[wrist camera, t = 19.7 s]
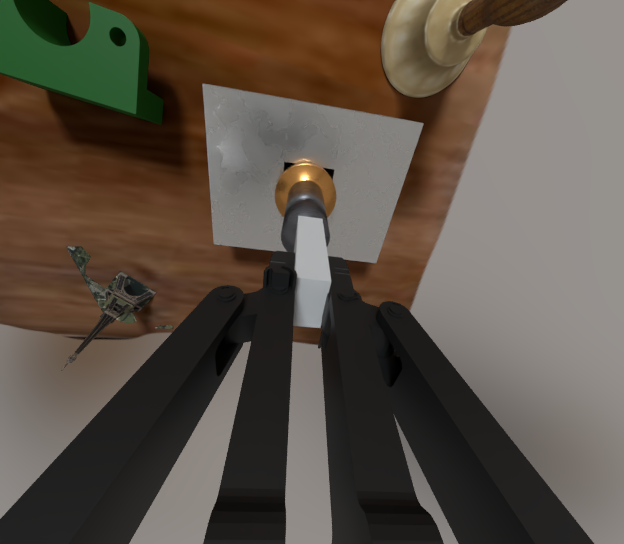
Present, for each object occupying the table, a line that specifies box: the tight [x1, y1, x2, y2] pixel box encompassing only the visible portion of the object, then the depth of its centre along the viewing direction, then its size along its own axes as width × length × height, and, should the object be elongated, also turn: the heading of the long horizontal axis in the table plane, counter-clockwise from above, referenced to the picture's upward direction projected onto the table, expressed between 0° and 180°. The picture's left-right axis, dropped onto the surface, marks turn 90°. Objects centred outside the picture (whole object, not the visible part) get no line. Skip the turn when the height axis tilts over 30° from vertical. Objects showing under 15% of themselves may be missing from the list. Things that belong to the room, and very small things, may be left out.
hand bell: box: [381, 0, 567, 98], centre depth 16 cm, size 8×8×16 cm
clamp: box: [0, 0, 164, 125], centre depth 20 cm, size 12×6×9 cm, turn 67°
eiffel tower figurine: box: [62, 247, 173, 370], centre depth 32 cm, size 15×10×13 cm
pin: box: [275, 162, 336, 253], centre depth 23 cm, size 6×6×14 cm
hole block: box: [203, 84, 424, 263], centre depth 27 cm, size 18×14×5 cm
